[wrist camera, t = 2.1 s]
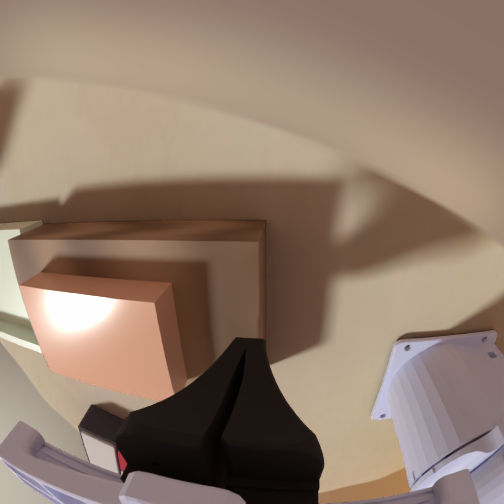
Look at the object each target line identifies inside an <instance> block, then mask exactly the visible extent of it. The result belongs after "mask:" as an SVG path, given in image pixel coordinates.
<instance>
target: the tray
mask: <svg viewBox="0 0 504 504" xmlns="http://www.w3.org/2000/svg"><path fill="white" fill-rule="evenodd" d="M42 225H43V222H42V220H39V221H24V222H11V223H0V337H1V338H3V339H6V340H8V341H11V342H13V343H16V344H18V345H21V346H24V347H26V348H29V349H32V350H34V351H37V352H40V353H42V351H41V349H40V346H39V344H38V341H37V339H36V336H35V334H34V331H33V328H32V325H31V323H30V320H29V317H28V314H27V311H26V308H25V305H24V302H23V299H22V295H21V292H20V289H19V285H18V282H17V278H16V274H15V270H14V266H13V262H12V258H11V253H10V249H9V244H8V240H9V239H11V238H13V237H16V236H18V235H20V234H22V233H25V232H27V231H30V230H32V229H34V228H37V227H39V226H42Z"/></svg>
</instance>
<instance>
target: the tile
mask: <svg viewBox="0 0 504 504" xmlns="http://www.w3.org/2000/svg"><path fill="white" fill-rule="evenodd" d="M19 287H20V291H21V294H22V298H23V301H24V304H25V307H26V310H27V313H28V316H29V319H30V322H31V325H32V327H33V330H34V333H35V335H36V338H37V340H38V343H39V345H40V348H41V350H42V353H43V355H44V357H45V360H46V362H47V364H48V366H49V368H50V371H52V372H55V373H58V374H61V375H64V376H67V377H70V378H73V379H76V380H79V381H82V382H85V383H88V384H92V385H95V386H99V387H102V388H106V389H109V390H113V391H117V392H121V393H125V394H129V395H133V396H137V397H142V398H146V399H151V400H156V401H162V400H164V399H166V398H168V397H170V396H172V395H174V394H175V393H177V392H179V391H180V390H182V389H183V388H184V387H185V385H186V382H187V380H188V379H187V374H186V369H185V364H184V358H183V353H182V347H181V342H180V336H179V330H178V323H177V317H176V310H175V303H174V296H173V289H172V283H170V282H154V281H139V280H125V279H112V278H99V277H87V276H76V275H65V274H55V273H45V272H40V273H38V274H36V275H35V276H33V277H31V278H30V279H28V280H26V281H25V282H23V283H22V284H20V285H19Z"/></svg>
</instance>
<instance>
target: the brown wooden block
mask: <svg viewBox="0 0 504 504" xmlns="http://www.w3.org/2000/svg"><path fill="white" fill-rule="evenodd" d="M8 244H9V249H10V253H11V258H12V262H13V266H14V270H15V274H16V278H17V282H18V285H20V284H22V283H23V282H25V281H26V280H28V279H30V278H31V277H33V276H35V275H36V274H38V273H40V272H45V273H55V274H65V275H76V276H87V277H99V278H112V279H125V280H139V281H154V282H170V283H172V289H173V296H174V303H175V310H176V317H177V323H178V330H179V336H180V342H181V347H182V353H183V358H184V364H185V369H186V374H187V379H188V380H187V382H186V385H185V387H186V386H188V385H189V384H190V383H192V382H193V381H194V380H196V379H197V378H198V377H199V376H200V375H202V374H203V373H204V372H205V371H206V370H207V369H208V368H209V367H210V366H211V365H212V364H213V363H214V362H215V361H216V360H217V359H218V358H219V357H220V356H221V354H222V353H223V352H224V351H225V350H226V349H227V347H228V346H229V345H230V343H231V342H232V341H233V339H234V338H236V337H242V338H260V339H264V340H265V341H266V220H155V221H110V222H81V223H57V224H44V225H42V226H39V227H37V228H34V229H32V230H30V231H27V232H25V233H22V234H20V235H18V236H16V237H13V238H11V239H9V240H8ZM19 289H20V287H19ZM20 292H21V291H20ZM21 295H22V294H21ZM22 299H23V298H22ZM23 302H24V301H23ZM24 305H25V304H24ZM25 308H26V307H25ZM26 311H27V310H26ZM27 314H28V313H27ZM28 317H29V316H28ZM29 320H30V319H29ZM30 323H31V322H30ZM32 328H33V327H32ZM33 331H34V330H33ZM34 334H35V333H34ZM35 336H36V335H35ZM36 339H37V338H36ZM37 341H38V340H37ZM38 344H39V343H38ZM39 346H40V345H39ZM40 349H41V348H40ZM41 351H42V350H41ZM43 356H44V355H43ZM44 358H45V357H44ZM46 363H47V362H46ZM47 365H48V364H47ZM48 367H49V366H48ZM185 387H184V388H185Z"/></svg>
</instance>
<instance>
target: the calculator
mask: <svg viewBox="0 0 504 504" xmlns="http://www.w3.org/2000/svg"><path fill="white" fill-rule="evenodd" d="M124 421H125V420H123V419H121V418H119V417H117V416H115V415H112V414H110V413H108V412H106V411H104V410H102V409H100V408H98V407H96V406H94V405H91V406H90V408H89V409H88V411H87V413H86V414H85V416H84V417H83V419H82V421H81V422H80V424H79V426H78V428H79V431H80V435H81V438H82V441H83V445H84V448H85V451H86V454H87V457H88V460H89V463H92V464H94V465H97V466H99V467H102V468H104V469H107V470H109V471H112V472H115V473H118V474H121V475H122V474H123V472H124V470H125V467H126V465H127V463H126V461H125V460H124V458H123V456H122V455H121V453H120V451H119V450H118V448H117V446H116V444H115V437H116V435H117V433H118V431H119V429H120V428H121V426H122V424H123V423H124Z"/></svg>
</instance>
